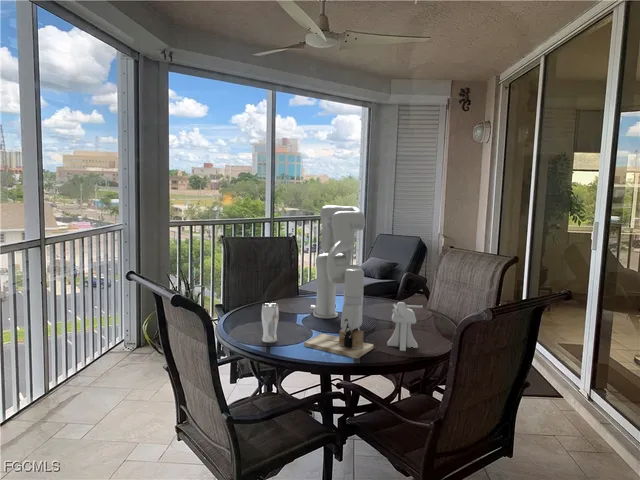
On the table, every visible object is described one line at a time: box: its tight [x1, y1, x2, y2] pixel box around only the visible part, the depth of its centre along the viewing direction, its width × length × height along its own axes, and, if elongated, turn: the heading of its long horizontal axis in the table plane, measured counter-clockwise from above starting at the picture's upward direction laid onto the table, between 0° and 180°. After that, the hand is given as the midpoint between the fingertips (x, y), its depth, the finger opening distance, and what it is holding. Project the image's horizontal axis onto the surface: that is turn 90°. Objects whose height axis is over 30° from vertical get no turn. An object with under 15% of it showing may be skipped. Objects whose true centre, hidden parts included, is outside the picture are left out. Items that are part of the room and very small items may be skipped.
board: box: [303, 333, 375, 359], centre depth 176 cm, size 24×14×2 cm, turn 59°
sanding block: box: [338, 328, 364, 350], centre depth 173 cm, size 8×5×6 cm, turn 58°
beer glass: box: [261, 302, 280, 344], centre depth 181 cm, size 7×7×15 cm
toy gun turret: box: [386, 301, 424, 352], centre depth 179 cm, size 12×13×18 cm
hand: (351, 344), depth 173 cm, fingers closed on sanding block, 5 cm apart
